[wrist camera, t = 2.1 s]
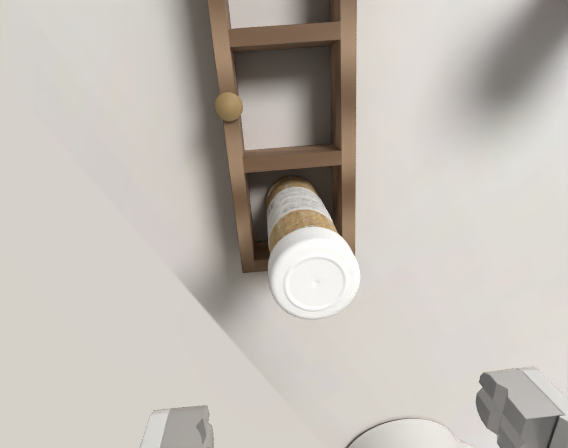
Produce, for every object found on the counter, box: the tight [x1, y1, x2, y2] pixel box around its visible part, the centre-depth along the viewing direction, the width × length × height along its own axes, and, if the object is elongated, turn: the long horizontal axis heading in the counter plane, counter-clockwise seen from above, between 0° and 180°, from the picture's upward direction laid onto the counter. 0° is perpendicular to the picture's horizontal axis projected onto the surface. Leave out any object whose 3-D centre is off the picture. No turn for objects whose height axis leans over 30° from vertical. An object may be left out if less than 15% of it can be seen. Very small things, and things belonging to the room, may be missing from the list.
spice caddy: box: [208, 0, 357, 273], centre depth 25 cm, size 25×9×4 cm, turn 4°
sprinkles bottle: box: [266, 176, 360, 319], centre depth 23 cm, size 5×4×14 cm
